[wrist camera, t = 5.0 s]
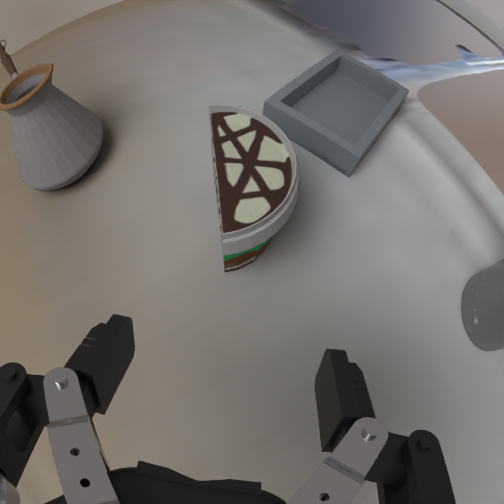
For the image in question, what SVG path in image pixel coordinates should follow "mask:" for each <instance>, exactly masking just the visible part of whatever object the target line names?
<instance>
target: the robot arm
mask: <svg viewBox="0 0 504 504" xmlns="http://www.w3.org/2000/svg"><path fill="white" fill-rule="evenodd" d="M462 314H463V320H464V324H465V328H466V330H467V333H468V335H469V337H470V338H471V340H472V341H473V342H474V344H475V345H476V346H477V347H479V348H480V349H482V350H485V351H494V350H499V349H503V348H504V259H503V260H501V261H500V262H498V263H496V264H494V265H493V266H491V267H489V268H487V269H486V270H484V271H482V272H480V273H478V274H477V275H475V276H473V277H472V278H471V279H470V280H469V282H468V283H467V285H466V288H465V290H464V294H463V299H462ZM134 351H135V343H134V333H133V323H132V319H131V318H130V317H126V316H122V315H117V314H113V315H112V316H111V318H110V319H109V321H108V322H107V323H106V324H104V323H100V324H98V325H97V326H95V327H94V328H92V329H91V330H90V332H89V333H88V334H87V336H86V338H84V340H83V341H82V342H81V345H79V347H78V348H77V349H76V351H75V352H74V353H73V355H72V356H71V358H70V359H69V360H68V362H67V363H66V365H65V366H64V367H59V368H55V369H52V370H50V371H49V372H48V373H47V374H46V375H45V376H42V375H31V374H27V372H26V370H25V368H24V367H23V366H22V365H21V364H19V363H7V364H5V365H3V366H2V367H0V504H20V495H19V493H18V491H17V489H16V487H17V485H18V482H19V480H20V478H21V475H22V473H23V471H24V468H25V466H26V464H27V462H28V460H29V457H30V455H31V453H32V451H33V449H34V447H35V445H36V443H37V440H38V438H39V436H40V434H41V432H42V430H43V428H44V426H47V430H48V435H49V440H50V444H51V449H52V453H53V457H54V461H55V465H56V469H57V472H58V476H59V479H60V483H61V486H62V489H63V492H64V495H62V496H60V497H58V498H56V499H53V500H51V501H49V502H47V503H45V504H349V503H350V502H351V500H352V499H353V497H354V496H355V495H356V493H357V492H358V490H359V489H360V487H361V486H362V484H363V482H364V480H367V481H371V482H376V483H377V489H378V497H379V504H456V503H455V498H454V494H453V490H452V486H451V482H450V478H449V475H448V471H447V467H446V464H445V460H444V457H443V453H442V450H441V447H440V444H439V441H438V439H437V437H436V436H435V435H434V434H432V433H431V432H429V431H426V430H417V431H414V432H413V433H411V435H410V436H409V437H406V436H402V435H397V434H393V433H390V432H388V430H387V428H386V427H385V425H384V424H383V423H382V422H381V421H379V420H377V419H376V418H375V414H374V411H373V407H372V403H371V400H370V396H369V393H368V391H367V386H366V383H365V379H364V376H363V372H362V371H361V369H360V368H359V367H358V366H357V365H356V363H349V362H348V358H347V354H346V351H345V350H337V349H326V351H325V353H324V356H323V359H322V361H321V364H320V367H319V370H318V372H317V375H316V379H315V394H316V402H317V411H318V419H319V429H320V438H321V448H322V452H331V455H330V456H329V457H328V458H326V459H325V461H324V462H323V463H322V464H321V465H320V467H319V468H318V469H317V470H316V471H315V472H314V474H313V475H312V476H311V477H310V478H309V479H308V480H307V482H306V483H305V484H304V485H303V486H302V487H301V488H300V489H299V490H298V492H297V493H296V494H295V495H294V496H293V497H292V498H291V499H290V500H289V501H288V502H287V503H286V502H285V501H284V500H282V499H281V498H279V497H278V496H276V495H274V494H272V493H269V492H267V491H264V490H261V482H251V481H242V480H233V479H226V480H210V481H197V480H194V479H192V478H189V477H187V476H185V475H182V474H180V473H178V472H176V471H173V470H171V469H169V468H166V467H162V466H158V465H154V464H150V463H146V462H143V461H139V462H138V465H137V467H127V468H119V469H116V470H112V471H111V468H110V466H109V464H108V461H107V459H106V457H105V454H104V451H103V449H102V446H101V443H100V440H99V438H98V435H97V432H96V429H95V426H94V423H93V420H92V418H93V416H94V414H95V412H97V413H100V414H103V415H105V413H106V410H107V408H108V406H109V404H110V402H111V400H112V398H113V396H114V394H115V392H116V390H117V388H118V386H119V384H120V382H121V380H122V378H123V376H124V374H125V373H126V371H127V369H128V367H129V365H130V363H131V361H132V359H133V356H134Z"/></svg>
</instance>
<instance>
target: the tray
mask: <svg viewBox="0 0 504 504" xmlns="http://www.w3.org/2000/svg"><path fill="white" fill-rule="evenodd" d="M408 92H409V90H408V89H406V88H405V87H403V86H401V85H400V84H398V83H397V82H395V81H393V80H392V79H390V78H388V77H387V76H385V75H383V74H382V73H380V72H378V71H376V70H375V69H373V68H371V67H369V66H367V65H366V64H364V63H362V62H360V61H358V60H356V59H354V58H352V57H351V56H349V55H347V54H345V53H343V52H341V51H339V50H336V51H335V52H333V53H332V54H330V55H329V56H327V57H326V58H324V59H323V60H321V61H320V62H318V63H317V64H315V65H314V66H312V67H311V68H309V69H308V70H307V71H305V72H304V73H302V74H301V75H300V76H298V77H297V78H295V79H294V80H293V81H291V82H290V83H288V84H287V85H286V86H284V87H283V88H282V89H280V90H279V91H278V92H276V93H275V94H274V95H272V96H271V97H270V98H268V99H267V100H266V101H264V109H263V116H264V117H266V118H268V119H269V120H271V121H272V122H273V123H274V124H276V125H277V126H278V127H279V128H280V129H281V130H282V131H283V132H284V134H285V135H286V136H287V138H288V139H290V140H292V141H293V142H295V143H297V144H298V145H300V146H301V147H303V148H305V149H306V150H308V151H309V152H311V153H313V154H314V155H316V156H317V157H319V158H320V159H322V160H323V161H325V162H326V163H328V164H330V165H331V166H333V167H334V168H336V169H337V170H339V171H340V172H342V173H343V174H344V175H346V176H347V177H349V176H350V175H351V174H352V172H353V171H354V170H355V168H356V167H357V166H358V164H359V163H360V162H361V160H362V159H363V158H364V156H365V155H366V154H367V152H368V151H369V150H370V148H371V147H372V146H373V144H374V143H375V142H376V140H377V139H378V137H379V136H380V135H381V133H382V132H383V131H384V129H385V128H386V126H387V125H388V124H389V122H390V121H391V120H392V118H393V117H394V115H395V114H396V113H397V111H398V110H399V108H400V107H401V105H402V103H403V101H404V100H405V98H406V96H407V94H408Z"/></svg>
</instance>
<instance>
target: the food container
mask: <svg viewBox="0 0 504 504" xmlns="http://www.w3.org/2000/svg"><path fill="white" fill-rule="evenodd" d="M209 118H210V131H211V144H212V157H213V169H214V181H215V191H216V201H217V210H218V219H219V228H220V237H221V246H222V254H223V263H224V271H225V272H229V271H234V270H238V269H240V268H242V267H244V266H246V265H248V264H250V263H252V262H253V261H254V260H255V259H256V258H257V257H258V256H259V255H260V254H261V253H262V252H263V251H264V250H265V247H266V245H267V243H268V241H269V239H270V237H272V236H273V235H274V234H276V233H277V232H278V231H279V230H280V229H281V228H282V226H283V225H284V224H285V223H286V222H287V220H288V219H289V217H290V216H291V214H292V213H293V210H294V208H295V206H296V203H297V200H298V196H299V190H300V177H299V166H298V160H297V157H296V154H295V151H294V149H293V147H292V145H291V143H290V141H289V139H288V138H287V136H286V135H285V134H284V132H283V131H282V130H281V129H280V128H279V127H278V126H277V125H276V124H274V123H273V122H272V121H271V120H269V119H268V118H266V117H264V116H263V115H261V114H259V113H256V112H254V111H252V110H249V109H246V108H242V107H237V106H232V105H209Z"/></svg>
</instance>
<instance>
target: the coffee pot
mask: <svg viewBox="0 0 504 504" xmlns="http://www.w3.org/2000/svg"><path fill="white" fill-rule="evenodd" d="M1 41H5V40H1ZM1 41H0V42H1ZM5 45H6V41H5ZM5 45H4V46H2V45H1V43H0V58H1V62H2V64H3V65H4V67H5V68H6V70H7V71H8V73H9V74H10V76H11V77H12V78H13V80H11V81H10V82H9V83H8V84H7V85H6V87H5V88H4V89H3V90H2V92H1V93H0V110H2V111H7V112H8V113H9V114H10V115H11V124H12V132H13V139H14V146H15V152H16V158H17V163H18V169H19V173H20V177H21V179H22V180H23V181H24V183H25V184H26V185H27V186H29V187H31V188H33V189H36V190H43V191H50V190H55V189H59V188H62V187H64V186H67V185H69V184H71V183H73V182H74V181H76V180H77V179H79V178H80V177H81V176H82V175H83V174H84V173H85V172H86V171H87V170H88V168H89V167H90V166H91V164H92V163H93V162H94V160H95V159H96V157H97V155H98V153H99V151H100V148H101V144H102V138H103V129H102V123H101V122H100V120H99V118H98V117H97V116H96V115H95V114H93V113H92V112H90V111H89V110H88V109H86V108H85V107H83V106H82V105H80V104H79V103H78V102H76V101H75V100H73V99H72V98H70V97H69V96H68V95H66V94H65V93H63V92H62V91H60V90H59V89H57V88H56V87H55V86H53V85H52V72H53V64H40V65H36V66H34V67H31V68H29V69H27V70H25V71H23V72H22V73H20V74H19V75H18V73H17V70H16V68H15V66H14V64H13V62H12V60H11V58H10V56H9V55H8V54H7V53H6V52H5Z"/></svg>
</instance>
